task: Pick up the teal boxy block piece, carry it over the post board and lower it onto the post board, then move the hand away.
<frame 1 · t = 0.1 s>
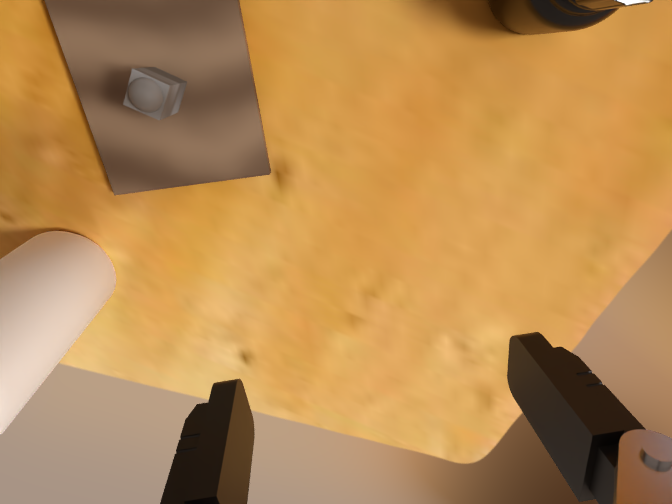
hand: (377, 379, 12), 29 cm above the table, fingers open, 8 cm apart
post board: (170, 89, 35), on the table
alcohol: (73, 267, 41), on the table
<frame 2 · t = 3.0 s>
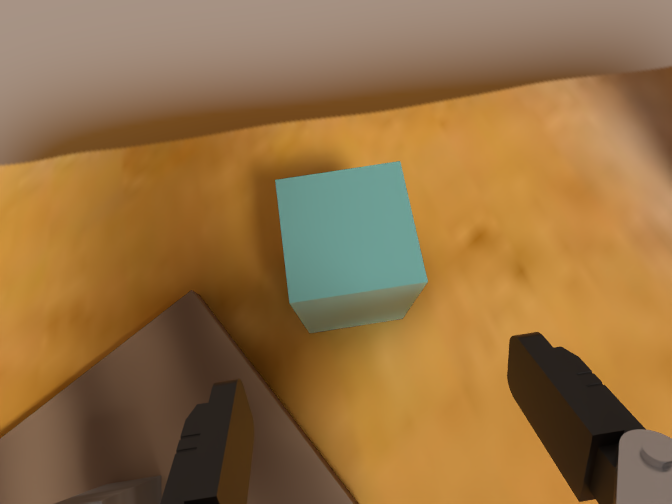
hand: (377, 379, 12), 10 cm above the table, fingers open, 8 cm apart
teal boxy block piece: (348, 281, 24), on the table
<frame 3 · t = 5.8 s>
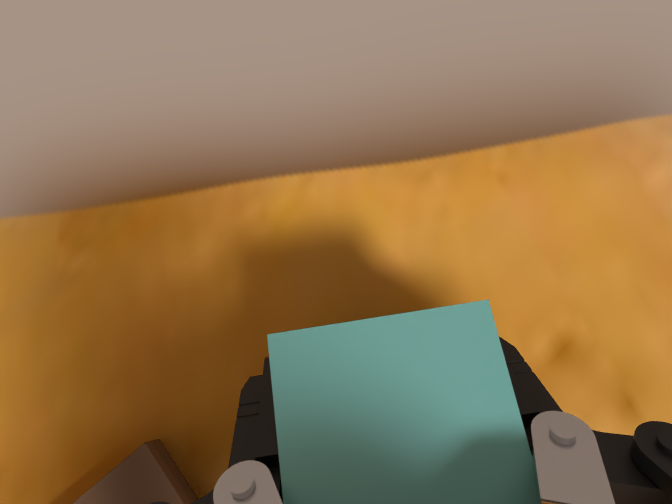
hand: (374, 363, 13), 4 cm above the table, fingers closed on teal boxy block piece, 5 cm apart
teal boxy block piece: (376, 418, 16), on the table, touching gripper
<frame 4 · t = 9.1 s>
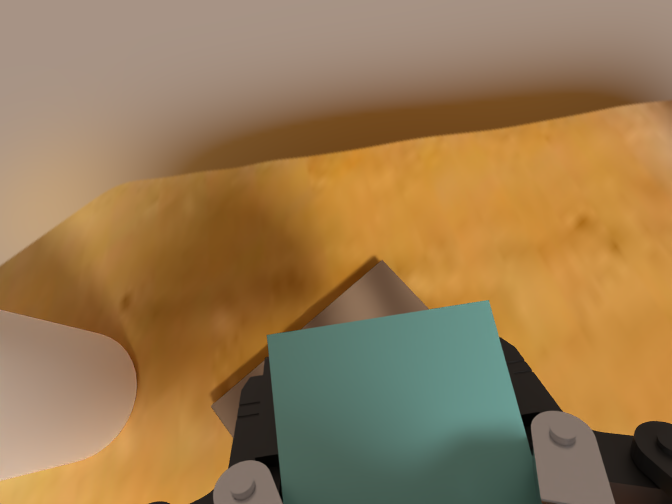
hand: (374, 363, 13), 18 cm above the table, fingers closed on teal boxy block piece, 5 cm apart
teal boxy block piece: (376, 418, 16), point 14 cm above the table, touching gripper
post board: (364, 407, 29), on the table
alcohol: (84, 394, 31), on the table
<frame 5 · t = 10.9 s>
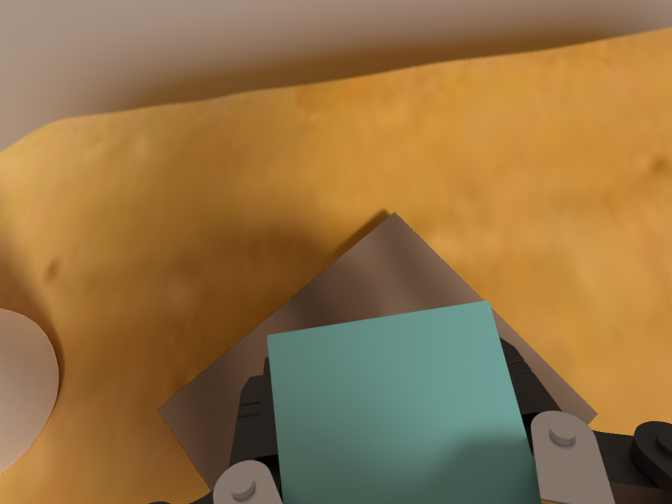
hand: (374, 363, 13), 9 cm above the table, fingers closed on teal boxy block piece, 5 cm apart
teal boxy block piece: (376, 418, 16), point 5 cm above the table, touching gripper
post board: (372, 410, 21), on the table
when the fingers open (7 cm above the table, at t = 12.5 s): teal boxy block piece drops 1 cm, resting on post board.
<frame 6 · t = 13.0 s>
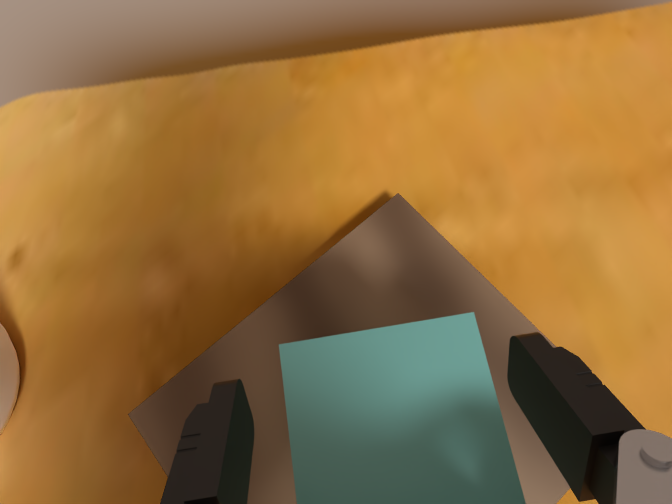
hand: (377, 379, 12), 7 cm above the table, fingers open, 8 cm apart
teal boxy block piece: (376, 417, 18), point 1 cm above the table, touching post board
post board: (373, 415, 19), on the table
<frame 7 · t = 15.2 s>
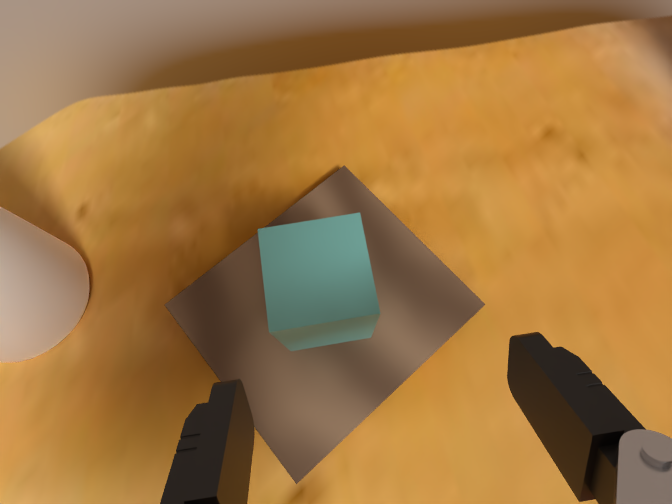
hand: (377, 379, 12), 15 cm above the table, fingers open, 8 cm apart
teal boxy block piece: (324, 305, 28), point 1 cm above the table, touching post board
post board: (324, 308, 29), on the table
alcohol: (36, 300, 30), on the table
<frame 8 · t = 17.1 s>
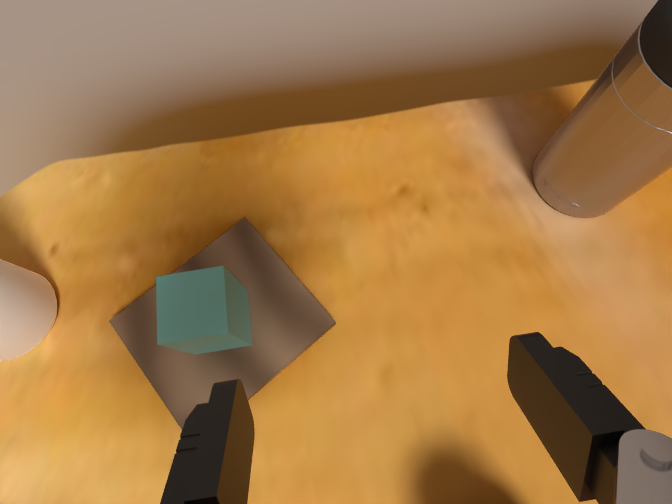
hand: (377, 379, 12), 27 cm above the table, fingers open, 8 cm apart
teal boxy block piece: (222, 321, 39), point 1 cm above the table, touching post board
post board: (224, 323, 40), on the table
alcohol: (19, 316, 41), on the table
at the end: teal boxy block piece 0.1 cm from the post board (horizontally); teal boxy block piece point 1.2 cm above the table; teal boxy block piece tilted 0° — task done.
